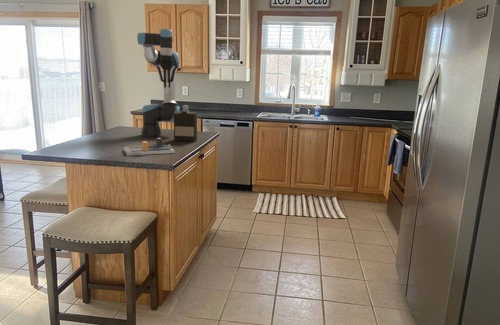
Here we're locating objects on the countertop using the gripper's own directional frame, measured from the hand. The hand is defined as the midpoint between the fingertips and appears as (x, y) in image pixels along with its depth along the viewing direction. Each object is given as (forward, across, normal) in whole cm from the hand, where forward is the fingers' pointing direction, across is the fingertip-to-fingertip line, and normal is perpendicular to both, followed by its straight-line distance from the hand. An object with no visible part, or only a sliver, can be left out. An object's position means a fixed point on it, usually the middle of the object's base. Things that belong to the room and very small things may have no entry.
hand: (167, 92), depth 233 cm
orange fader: (+32, -18, -23) cm, 44 cm away
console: (+34, -15, -18) cm, 42 cm away
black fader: (+32, -8, -14) cm, 36 cm away
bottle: (+35, +15, +11) cm, 39 cm away
